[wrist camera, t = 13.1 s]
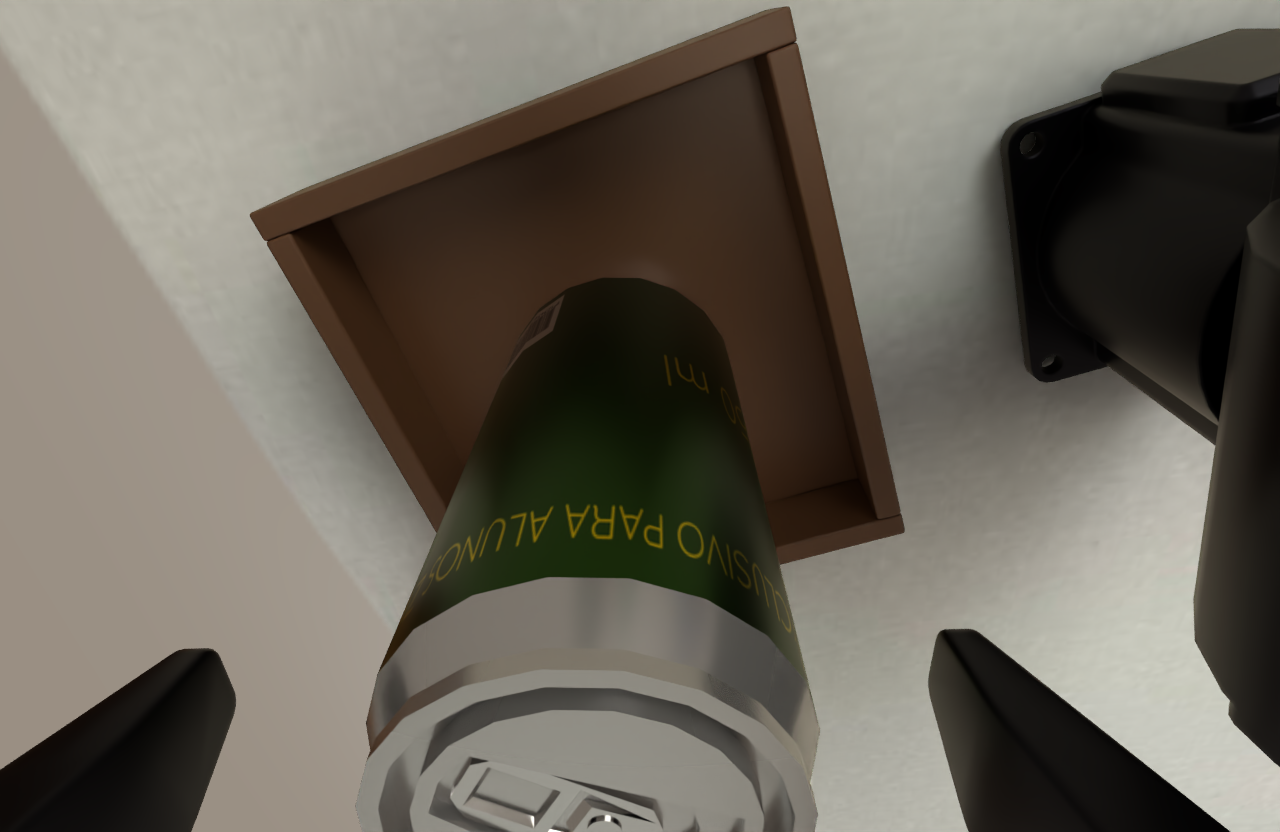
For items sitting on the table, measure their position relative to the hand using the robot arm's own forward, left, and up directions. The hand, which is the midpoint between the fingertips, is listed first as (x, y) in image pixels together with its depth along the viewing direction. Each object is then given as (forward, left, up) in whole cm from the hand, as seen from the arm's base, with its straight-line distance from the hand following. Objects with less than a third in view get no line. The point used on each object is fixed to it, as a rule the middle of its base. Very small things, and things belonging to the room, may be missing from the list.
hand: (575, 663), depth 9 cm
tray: (0, 0, -11) cm, 11 cm away
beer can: (-1, 0, -10) cm, 10 cm away
